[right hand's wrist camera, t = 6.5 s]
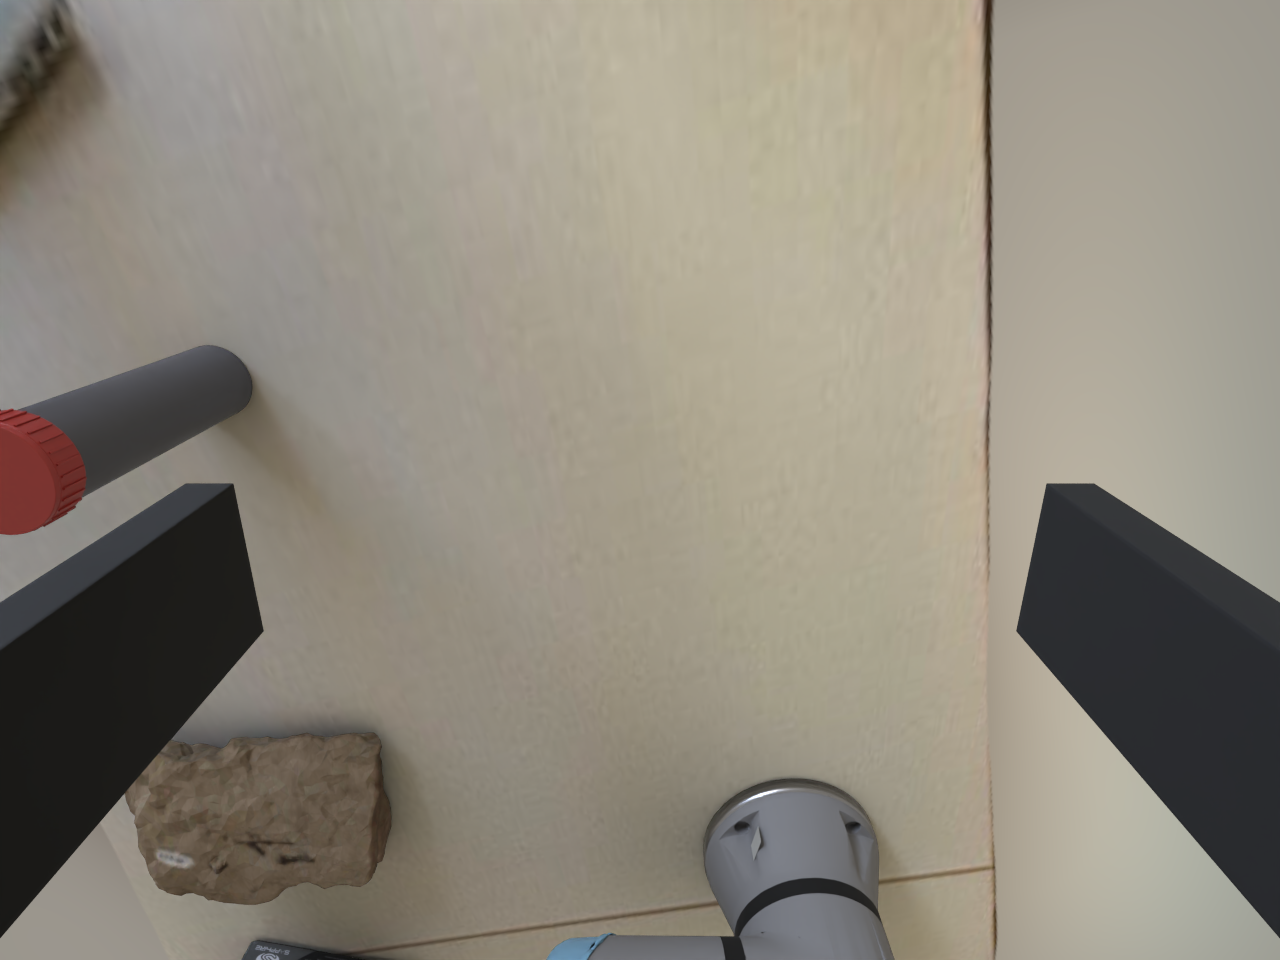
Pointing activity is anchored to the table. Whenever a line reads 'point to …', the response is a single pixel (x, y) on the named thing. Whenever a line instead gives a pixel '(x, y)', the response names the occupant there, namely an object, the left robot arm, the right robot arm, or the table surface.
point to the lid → (36, 472)
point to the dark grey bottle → (147, 410)
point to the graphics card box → (287, 953)
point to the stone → (262, 815)
